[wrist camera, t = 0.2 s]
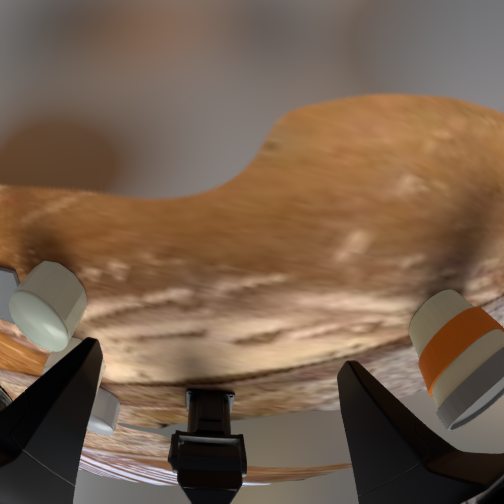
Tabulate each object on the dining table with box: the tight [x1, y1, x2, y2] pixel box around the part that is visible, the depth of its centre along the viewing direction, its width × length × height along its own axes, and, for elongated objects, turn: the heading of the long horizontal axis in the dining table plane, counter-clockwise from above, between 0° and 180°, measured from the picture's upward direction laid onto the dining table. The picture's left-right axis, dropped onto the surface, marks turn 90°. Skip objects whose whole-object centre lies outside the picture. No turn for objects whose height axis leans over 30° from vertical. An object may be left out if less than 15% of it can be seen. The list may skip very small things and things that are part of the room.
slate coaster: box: [0, 267, 20, 324], centre depth 23 cm, size 9×9×1 cm
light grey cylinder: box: [87, 387, 121, 436], centre depth 32 cm, size 7×7×6 cm
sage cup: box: [9, 261, 88, 352], centre depth 21 cm, size 7×7×6 cm
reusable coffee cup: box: [409, 289, 504, 432], centre depth 24 cm, size 13×13×15 cm
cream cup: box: [42, 337, 106, 395], centre depth 27 cm, size 7×7×6 cm
